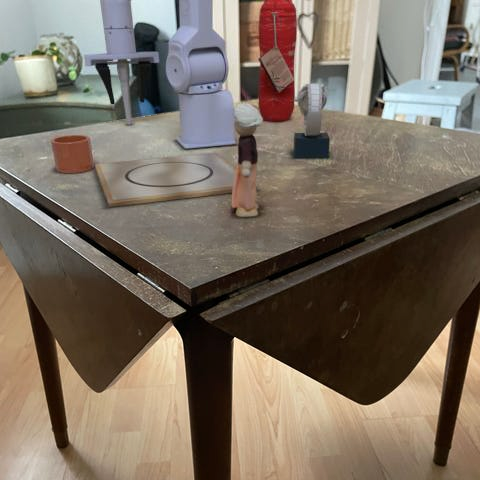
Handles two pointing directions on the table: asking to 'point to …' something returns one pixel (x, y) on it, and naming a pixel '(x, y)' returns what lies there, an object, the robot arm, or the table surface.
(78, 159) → the pen pot
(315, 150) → the watch
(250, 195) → the grandmother figurine
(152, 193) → the sketch board
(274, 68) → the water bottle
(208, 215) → the table surface
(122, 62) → the pen
